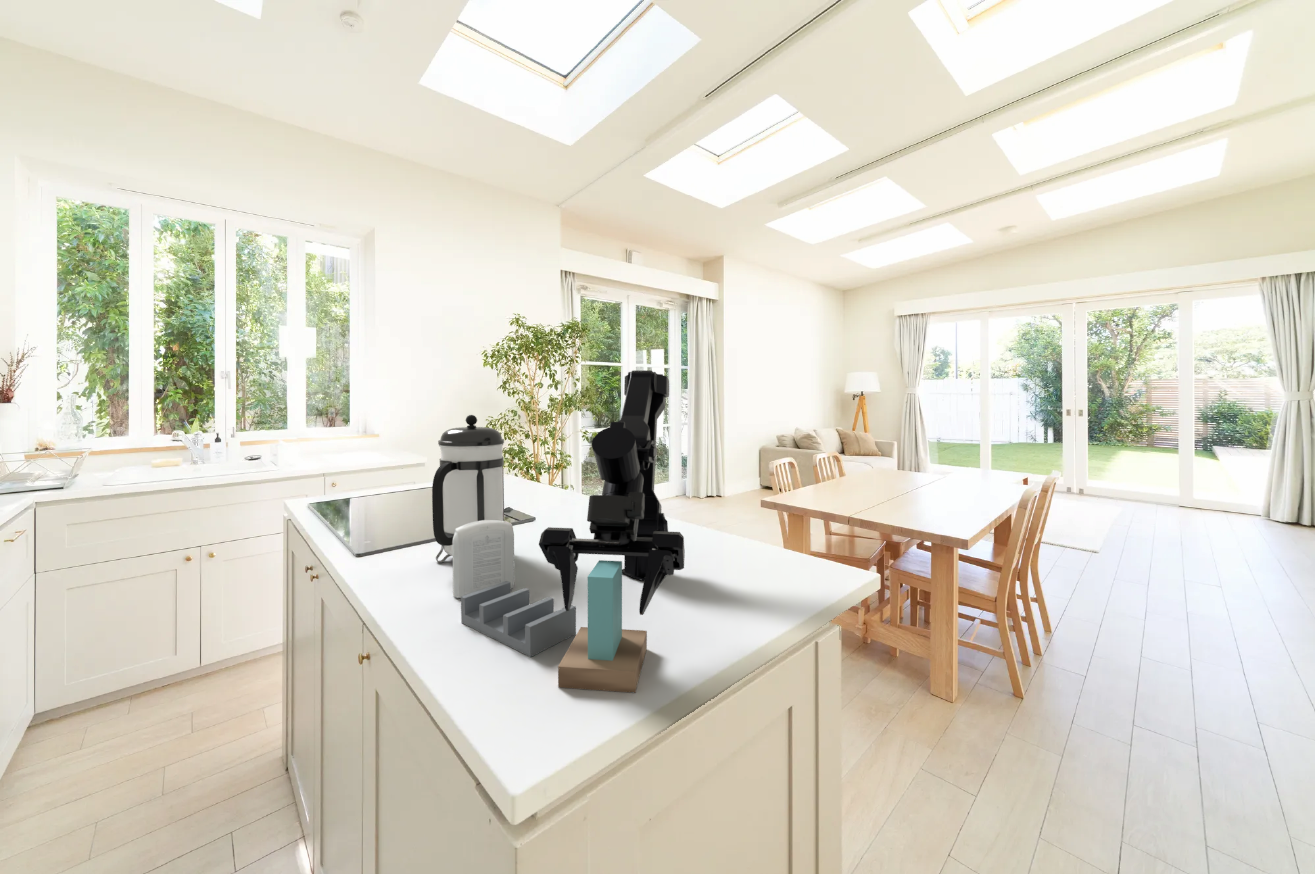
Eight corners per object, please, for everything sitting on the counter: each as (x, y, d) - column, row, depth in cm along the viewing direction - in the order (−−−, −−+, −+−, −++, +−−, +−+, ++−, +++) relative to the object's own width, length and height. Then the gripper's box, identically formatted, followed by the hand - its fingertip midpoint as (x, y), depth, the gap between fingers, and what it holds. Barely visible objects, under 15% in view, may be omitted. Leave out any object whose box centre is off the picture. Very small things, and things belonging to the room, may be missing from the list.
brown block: (580, 644, 67) (580, 626, 66) (646, 648, 66) (646, 630, 65) (558, 687, 57) (558, 666, 57) (635, 692, 56) (635, 671, 56)
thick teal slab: (599, 635, 64) (599, 560, 63) (621, 636, 64) (622, 561, 63) (587, 659, 58) (587, 576, 57) (612, 660, 58) (612, 577, 57)
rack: (507, 605, 79) (506, 581, 79) (575, 633, 70) (575, 606, 69) (461, 622, 73) (460, 596, 73) (530, 657, 63) (529, 627, 63)
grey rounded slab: (510, 581, 90) (509, 514, 89) (518, 588, 86) (517, 519, 85) (450, 593, 84) (449, 522, 83) (455, 601, 81) (454, 527, 80)
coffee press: (427, 552, 106) (423, 414, 104) (502, 542, 114) (500, 413, 112) (434, 578, 91) (430, 416, 89) (521, 564, 99) (519, 415, 97)
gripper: (542, 467, 65) (510, 578, 55) (684, 470, 63) (677, 586, 53) (561, 513, 73) (535, 617, 63) (686, 517, 71) (681, 625, 61)
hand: (603, 611), depth 60 cm, fingers open, 9 cm apart
